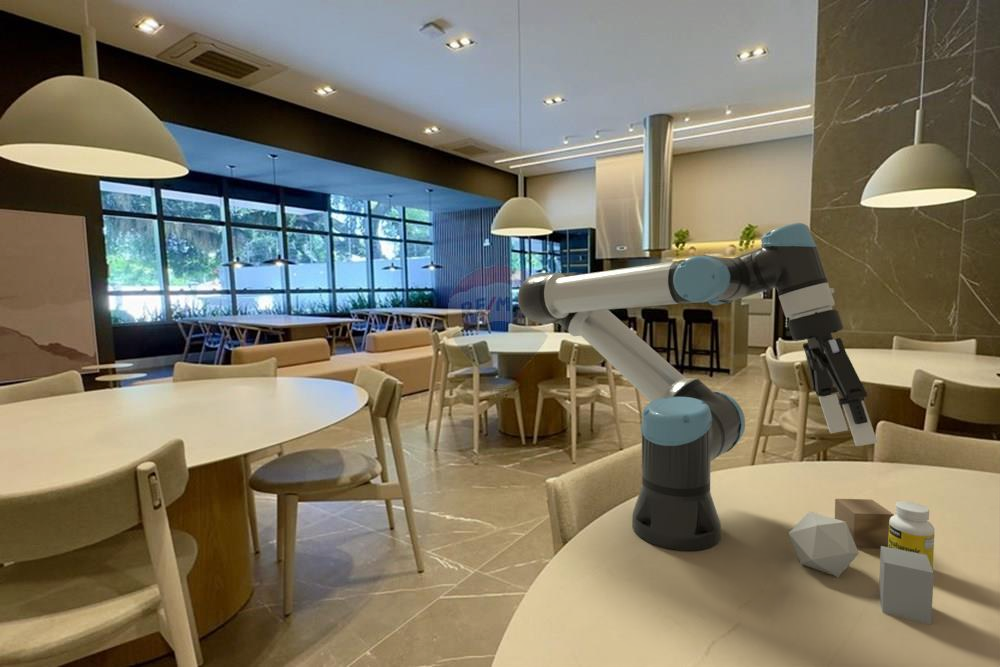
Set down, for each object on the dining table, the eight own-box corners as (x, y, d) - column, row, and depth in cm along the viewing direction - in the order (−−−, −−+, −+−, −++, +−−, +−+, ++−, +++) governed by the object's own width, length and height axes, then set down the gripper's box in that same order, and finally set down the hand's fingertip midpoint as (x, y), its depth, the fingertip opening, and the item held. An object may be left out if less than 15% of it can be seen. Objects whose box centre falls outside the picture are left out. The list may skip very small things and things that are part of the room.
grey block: (882, 612, 67) (884, 562, 67) (879, 593, 72) (880, 545, 71) (931, 625, 65) (933, 572, 64) (924, 604, 69) (926, 555, 68)
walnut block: (853, 548, 84) (854, 513, 84) (834, 531, 90) (835, 498, 90) (892, 549, 83) (894, 514, 83) (871, 532, 89) (872, 499, 89)
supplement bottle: (879, 563, 79) (881, 502, 78) (900, 555, 81) (902, 496, 80) (919, 581, 74) (922, 516, 73) (940, 572, 76) (943, 509, 76)
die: (866, 573, 78) (836, 509, 83) (871, 570, 71) (838, 501, 76) (808, 583, 81) (783, 520, 86) (808, 581, 74) (780, 513, 79)
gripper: (861, 299, 73) (911, 445, 70) (816, 313, 96) (852, 423, 94) (804, 314, 75) (850, 455, 72) (773, 324, 99) (807, 431, 96)
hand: (851, 437), depth 83 cm, fingers open, 13 cm apart
